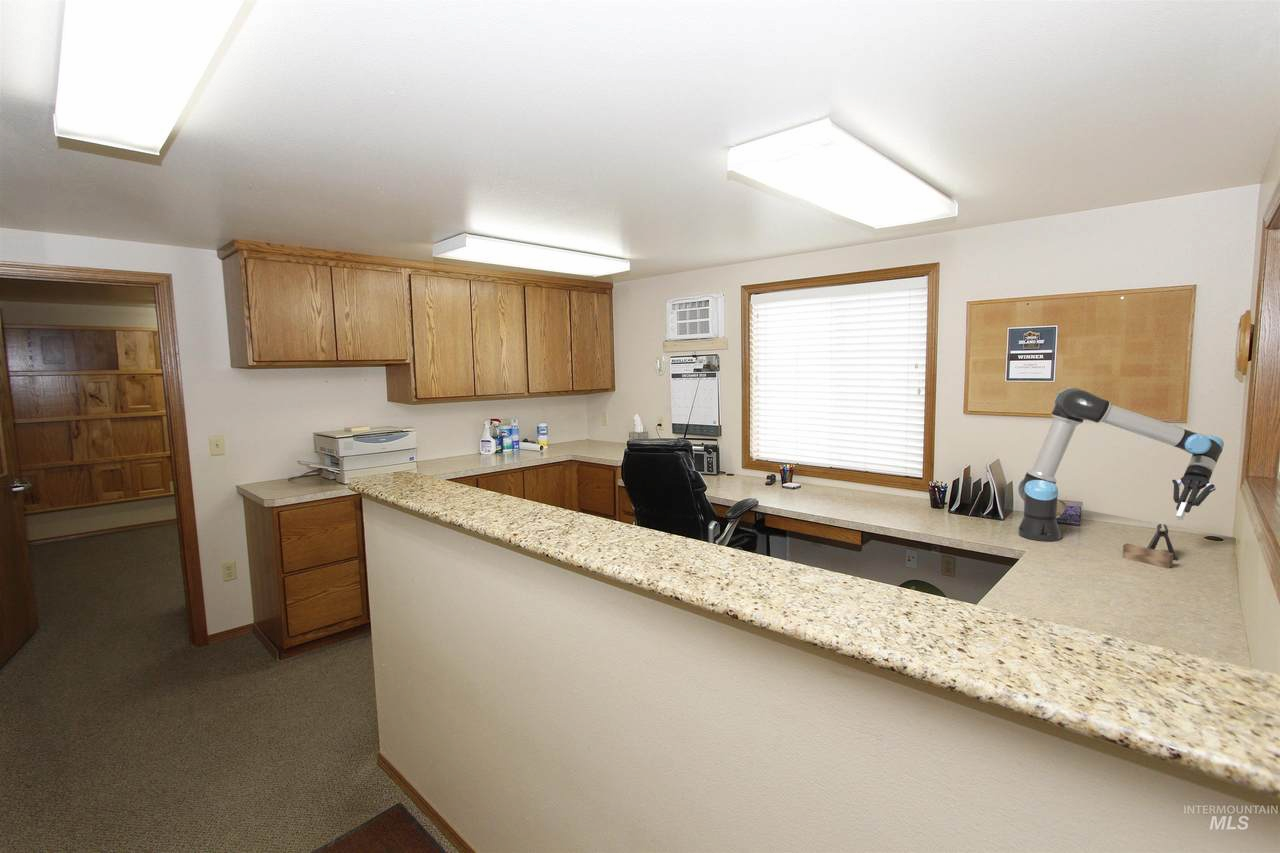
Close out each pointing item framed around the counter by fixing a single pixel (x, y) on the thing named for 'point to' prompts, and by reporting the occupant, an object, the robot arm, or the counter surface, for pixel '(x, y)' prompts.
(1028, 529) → the robot arm
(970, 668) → the counter surface
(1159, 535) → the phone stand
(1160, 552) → the block
